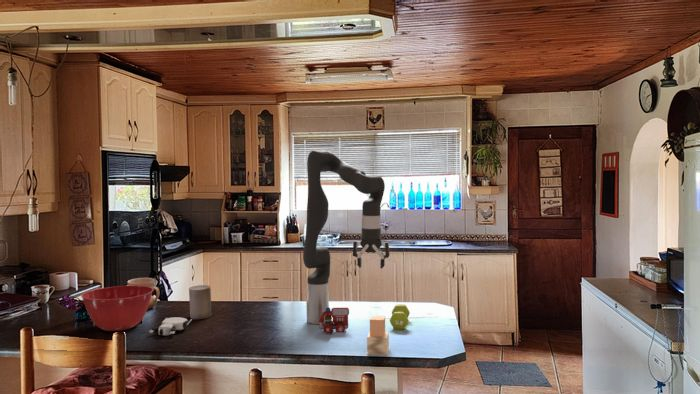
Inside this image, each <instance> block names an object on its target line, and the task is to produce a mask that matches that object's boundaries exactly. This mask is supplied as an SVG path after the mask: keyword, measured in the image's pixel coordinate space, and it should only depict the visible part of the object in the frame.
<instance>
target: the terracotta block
mask: <svg viewBox="0 0 700 394" xmlns="http://www.w3.org/2000/svg"><path fill="white" fill-rule="evenodd" d="M369 332H370V336H376V337H384V335H385V332H386V316H383V315H381V316H380V315H371V316H370V318H369Z"/></svg>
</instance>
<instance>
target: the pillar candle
mask: <svg viewBox="0 0 700 394" xmlns="http://www.w3.org/2000/svg"><path fill="white" fill-rule="evenodd" d="M211 290H212V289H211V285H206V284H202V285H201V284H199V285H193V286H190V287H189V288H188V294H189V295H188V296H189V300H188V301H189V315H190V316H189V318H191V319H192V320H203V319H208V318H210V317H212V316H213V315H212V295H211V294H212V293H211Z"/></svg>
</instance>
